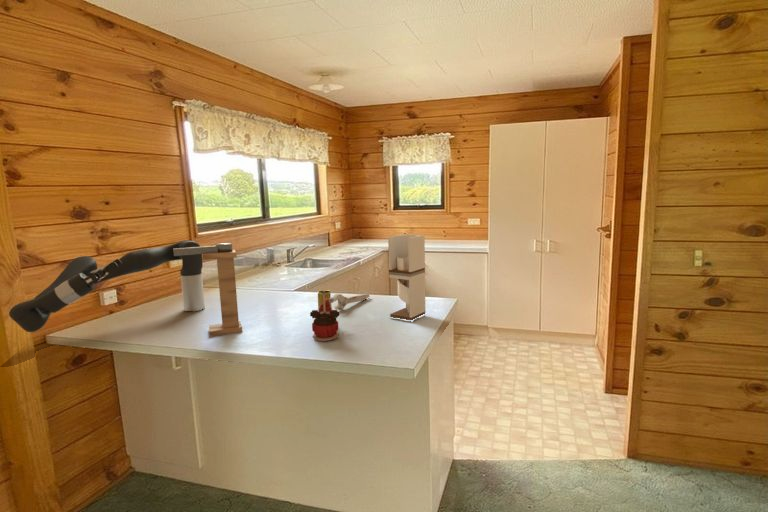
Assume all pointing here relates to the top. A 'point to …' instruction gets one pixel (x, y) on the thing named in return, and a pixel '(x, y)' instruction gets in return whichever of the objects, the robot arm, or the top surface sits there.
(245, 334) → the top surface
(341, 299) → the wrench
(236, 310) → the shelf stand
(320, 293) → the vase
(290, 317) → the top surface
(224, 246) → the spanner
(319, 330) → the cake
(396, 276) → the beige cubby tower
